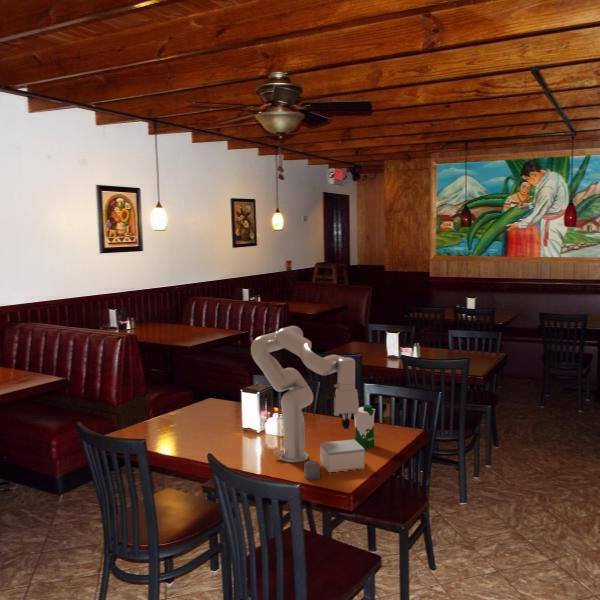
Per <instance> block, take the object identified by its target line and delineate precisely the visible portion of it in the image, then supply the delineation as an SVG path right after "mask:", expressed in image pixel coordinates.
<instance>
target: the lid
mask: <svg viewBox="0 0 600 600" xmlns="http://www.w3.org/2000/svg"><path fill="white" fill-rule="evenodd" d="M318 445H319V447H320V446H321V447H322V448H323V449H324V450H325V451H326V453H327V454H328V455H331V454H340V453H350V452H359V451H364V452H365V451H366V449H364V448H363V447H362V446H361V445H360V444H359V443H358V442H357V441H355V438H354V439H353V438H352V439H344V440H334V441H324V442H319V444H318Z"/></svg>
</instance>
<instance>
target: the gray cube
mask: <svg viewBox="0 0 600 600" xmlns="http://www.w3.org/2000/svg"><path fill="white" fill-rule="evenodd" d="M303 465H304V466H303V468H304V470H303V471H304V479H305V480H308V481H317V480H319V479H320V475H321V474H320V472H321V471H320V467H321V466H320V461H317V460H306V461H304V463H303ZM316 479H317V480H316Z"/></svg>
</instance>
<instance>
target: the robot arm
mask: <svg viewBox="0 0 600 600" xmlns="http://www.w3.org/2000/svg"><path fill="white" fill-rule="evenodd" d="M282 349H285V350H287V351H289V352H291V353H293V354H294V355H296V356H298V357H299V358H300V359H301V361H302V363H303V364H304V365H305V367H306V368H307V369H308V370H310V371H312V372H314V373H315V374H318V375H320V376H327V375H331V374H334V373H337V381H336V384H333V387H334V388H336V389H335V391H334V399H333V411H334V412H333V415H334V416H335V417H340V418H341V426H342V428H343V429H344V430H348V429H349V428H350V421H351V418H352V417H354V415H356V414H358V410H359V408H360V405H359V393H358V389H356V360H355V359H354V358H352V357H347V356H342V355H337V354H330V355H326V356H325V357H321V356H320V355H318V354H316V353H315V352H313V350H312V341H311V340H309V339H308V338H306V337H304V332H303V330H302V329H301V328H300V327H299V326H296V325H289V326H287V327H282V328H279V330H278V331H275V332H272V333H271V332H270V333H267V334H263V335H260V336H257V337H256V338H255V339H253V341H252V342H251V345H250V354H251V357H252V359H253V361H254V362H255V364H256V365H257V366H258V367H259V369H260V370H261V371H262V373H263V375H264V376H265V378H266V379H267V381H268V382H269V383H270V385H271V387H272V388H273V389H274V390H275V391H276V392H280V393H281V392H284V391H287V392H285V393H284V394H283V395H282V397H281V398H280V406H281V411H282V412H281V413H282V422H283V425H282V426H283V447H282V449H280V450H278V449H277V450H273V454H274V456H277V457H280V459H281V460H282V461H283V462H287V463H293V464H294V463H302V462H306V461H308V459H309V454H308V453H307V452H306V448H305V445H306V443H305V442H306V441H305V439H306V438H305V417H304V414H303V412H302V409H304V408H306V407H308V406H310V405H311V404H312V403H313V401H314V393H313V391H312V389H311V388H310V386H309V384H308V383H307V381H306V380H305V378H304V377H303V376H302V374H301V373H300V372H299V371H298V370H297V369H295V368H294V367H286V368H285V367H284V368H283V367H282V365H281V364H280V362H279V361H278V360H277V359H276V358H275V357H274V356H273V355H271V354H270V353H272V352H276V351H280V350H282Z"/></svg>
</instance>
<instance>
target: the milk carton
mask: <svg viewBox="0 0 600 600" xmlns="http://www.w3.org/2000/svg"><path fill="white" fill-rule="evenodd" d="M375 413H376V409H375V408H373V406H372V405H370V404H365V405H363V406H359V410H358V414H356V415H353V417H354V440H355V441H357V442H358V443H359V444H360V445H361V446H362V447H363V448H366V449H365V450H368V449H370V448H372V447H374V446H376V445H375V444H376V443H375ZM373 445H374V446H373ZM371 446H372V447H371ZM369 447H370V448H369ZM367 448H368V449H367Z"/></svg>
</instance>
